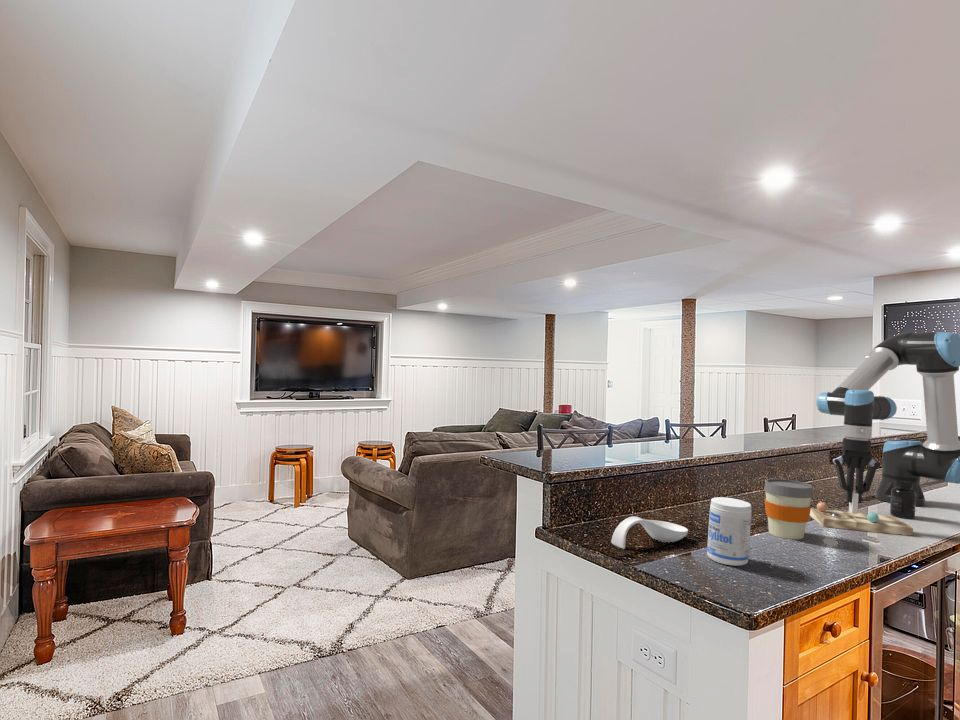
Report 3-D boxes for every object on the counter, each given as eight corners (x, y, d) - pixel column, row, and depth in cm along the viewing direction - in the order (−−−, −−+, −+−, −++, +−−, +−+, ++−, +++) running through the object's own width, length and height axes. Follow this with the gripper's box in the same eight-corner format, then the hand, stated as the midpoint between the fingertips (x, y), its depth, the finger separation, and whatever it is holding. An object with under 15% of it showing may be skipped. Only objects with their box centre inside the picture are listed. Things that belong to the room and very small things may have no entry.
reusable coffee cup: (792, 543, 157) (795, 489, 156) (752, 530, 168) (755, 479, 168) (820, 538, 162) (822, 486, 162) (779, 525, 174) (782, 477, 173)
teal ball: (876, 521, 174) (876, 511, 174) (880, 524, 171) (880, 514, 171) (865, 520, 175) (865, 510, 175) (869, 523, 172) (869, 513, 172)
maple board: (892, 523, 182) (892, 516, 182) (912, 536, 169) (913, 527, 169) (809, 515, 187) (810, 508, 187) (823, 526, 175) (823, 518, 175)
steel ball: (841, 516, 181) (832, 509, 181) (845, 519, 178) (836, 512, 178) (834, 523, 181) (826, 516, 182) (838, 526, 178) (829, 519, 179)
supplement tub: (701, 559, 141) (704, 500, 140) (713, 550, 148) (716, 494, 148) (742, 570, 134) (745, 509, 134) (753, 560, 142) (756, 502, 141)
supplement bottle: (919, 520, 188) (921, 484, 188) (896, 518, 189) (898, 482, 189) (908, 514, 194) (909, 480, 194) (885, 512, 196) (887, 478, 196)
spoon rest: (663, 530, 164) (664, 506, 164) (696, 543, 154) (698, 517, 154) (602, 541, 152) (603, 514, 152) (634, 555, 142) (635, 527, 142)
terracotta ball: (825, 510, 185) (825, 501, 185) (828, 513, 182) (829, 503, 182) (815, 509, 185) (815, 500, 185) (818, 512, 182) (818, 502, 182)
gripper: (838, 438, 176) (834, 513, 176) (886, 441, 173) (881, 518, 173) (829, 435, 183) (825, 507, 184) (875, 438, 180) (871, 512, 181)
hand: (853, 512), depth 178 cm, fingers closed
